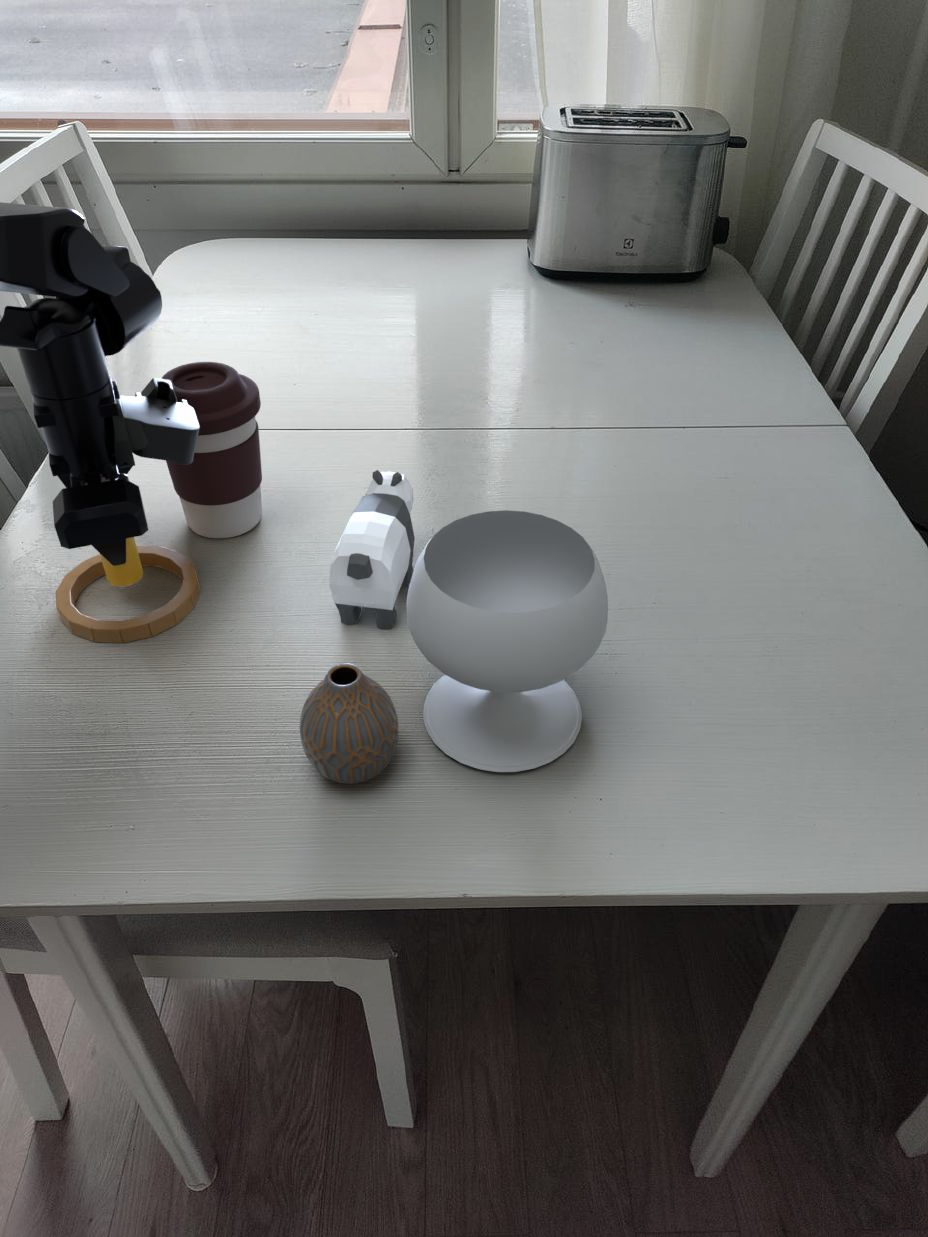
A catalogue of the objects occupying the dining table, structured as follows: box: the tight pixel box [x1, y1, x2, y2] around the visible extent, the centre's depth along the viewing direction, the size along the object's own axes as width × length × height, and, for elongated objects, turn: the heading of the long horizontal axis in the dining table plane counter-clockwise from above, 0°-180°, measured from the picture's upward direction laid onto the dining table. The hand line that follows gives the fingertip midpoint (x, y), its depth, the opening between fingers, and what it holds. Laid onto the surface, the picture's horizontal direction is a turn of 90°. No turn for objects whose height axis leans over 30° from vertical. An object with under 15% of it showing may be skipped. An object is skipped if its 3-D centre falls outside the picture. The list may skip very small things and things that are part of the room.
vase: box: [299, 662, 399, 785], centre depth 67 cm, size 7×7×9 cm
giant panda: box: [329, 469, 416, 630], centre depth 83 cm, size 15×6×10 cm, turn 170°
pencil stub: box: [86, 478, 144, 587], centre depth 80 cm, size 3×3×9 cm
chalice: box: [406, 509, 609, 773], centre depth 69 cm, size 14×14×15 cm
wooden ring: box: [55, 545, 201, 644], centre depth 84 cm, size 12×12×2 cm
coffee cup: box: [160, 361, 263, 539], centre depth 89 cm, size 10×10×15 cm
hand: (117, 553), depth 81 cm, fingers closed on pencil stub, 3 cm apart
